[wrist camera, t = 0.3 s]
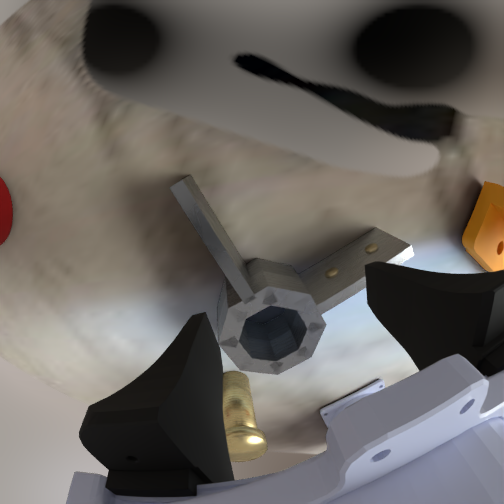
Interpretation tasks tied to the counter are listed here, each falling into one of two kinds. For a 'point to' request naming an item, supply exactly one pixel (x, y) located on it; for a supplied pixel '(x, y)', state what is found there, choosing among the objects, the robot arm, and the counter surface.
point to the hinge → (280, 290)
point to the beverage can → (5, 212)
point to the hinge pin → (241, 419)
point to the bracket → (487, 229)
